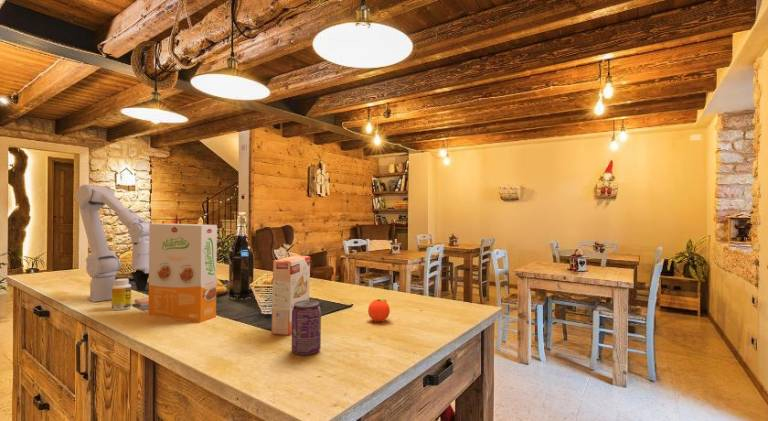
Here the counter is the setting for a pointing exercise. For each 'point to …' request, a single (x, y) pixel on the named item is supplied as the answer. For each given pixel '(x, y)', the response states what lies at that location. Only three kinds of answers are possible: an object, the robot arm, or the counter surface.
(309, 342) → the beverage can
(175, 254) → the cereal box
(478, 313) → the counter surface
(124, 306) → the supplement bottle
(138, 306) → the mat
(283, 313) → the cracker box
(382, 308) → the clementine
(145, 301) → the tile
